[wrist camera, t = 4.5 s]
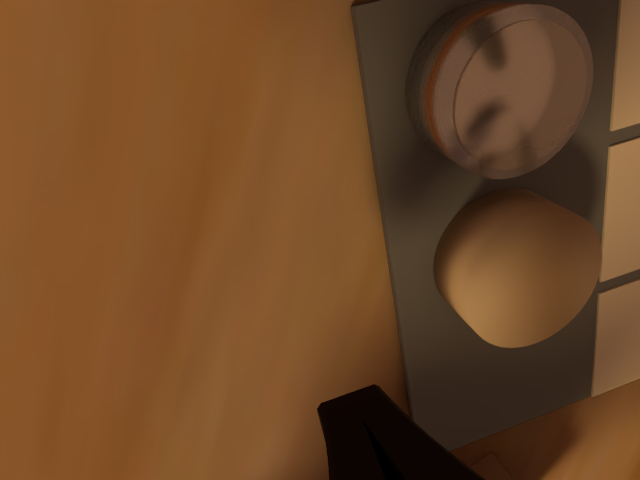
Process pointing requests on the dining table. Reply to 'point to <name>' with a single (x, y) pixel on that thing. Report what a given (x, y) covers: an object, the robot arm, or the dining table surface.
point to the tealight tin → (500, 86)
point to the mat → (463, 187)
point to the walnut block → (490, 468)
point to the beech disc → (517, 266)
